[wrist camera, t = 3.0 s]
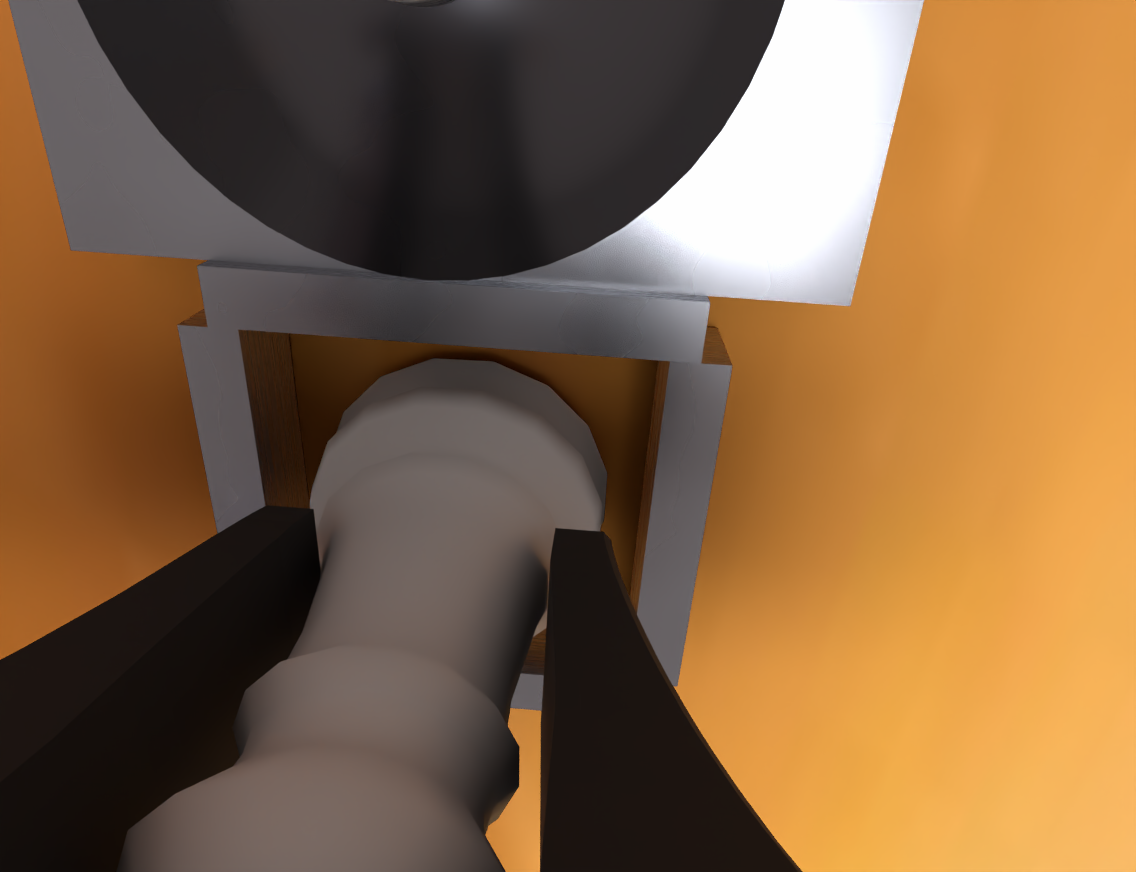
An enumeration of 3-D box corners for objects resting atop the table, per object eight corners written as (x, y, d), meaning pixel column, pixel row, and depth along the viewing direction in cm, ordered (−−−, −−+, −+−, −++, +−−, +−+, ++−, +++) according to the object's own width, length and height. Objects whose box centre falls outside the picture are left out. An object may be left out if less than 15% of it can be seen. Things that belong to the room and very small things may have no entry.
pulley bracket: (741, 662, 14) (781, 847, 10) (208, 619, 14) (86, 787, 11) (995, -489, 7) (1323, -959, 4) (-40, -540, 7) (-566, -1024, 4)
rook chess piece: (281, 429, 12) (-210, 978, 5) (510, 291, 11) (303, 756, 4) (442, 617, 14) (257, 1236, 6) (657, 516, 12) (722, 1146, 5)
